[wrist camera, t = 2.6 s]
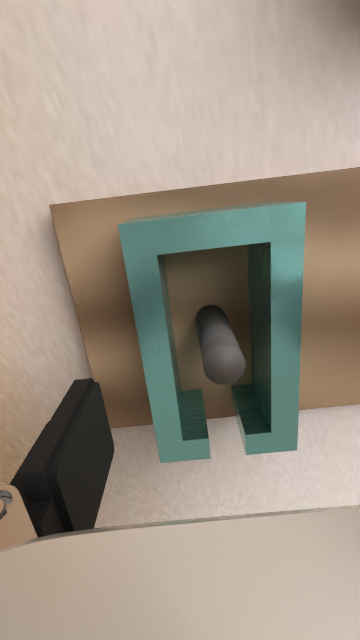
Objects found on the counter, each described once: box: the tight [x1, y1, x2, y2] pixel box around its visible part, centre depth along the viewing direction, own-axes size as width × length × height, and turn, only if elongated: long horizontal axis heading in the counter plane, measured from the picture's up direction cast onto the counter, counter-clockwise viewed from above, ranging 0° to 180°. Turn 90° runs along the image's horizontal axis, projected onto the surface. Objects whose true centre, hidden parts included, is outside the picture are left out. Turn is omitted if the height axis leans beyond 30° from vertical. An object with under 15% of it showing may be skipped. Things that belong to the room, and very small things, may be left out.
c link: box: [118, 201, 306, 463], centre depth 14 cm, size 11×6×4 cm, turn 6°
